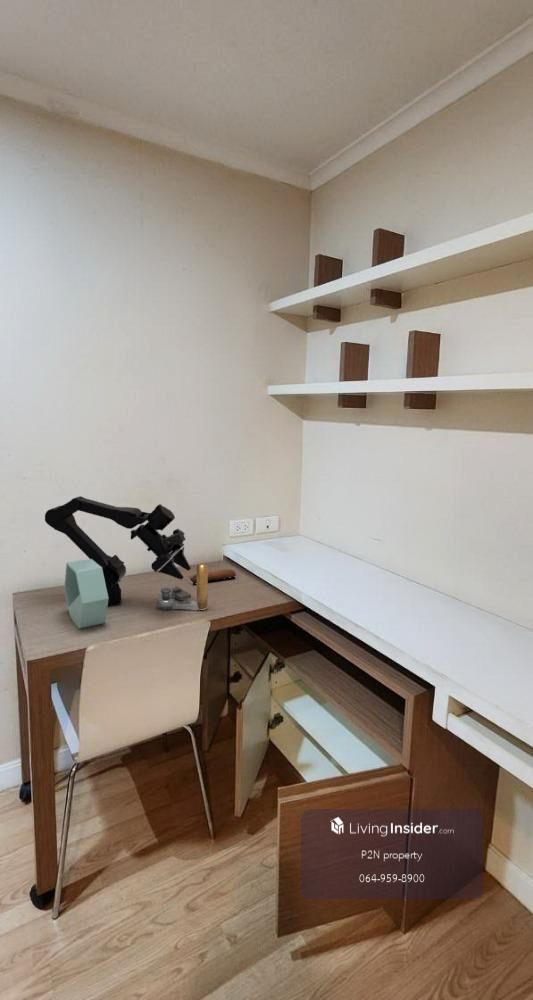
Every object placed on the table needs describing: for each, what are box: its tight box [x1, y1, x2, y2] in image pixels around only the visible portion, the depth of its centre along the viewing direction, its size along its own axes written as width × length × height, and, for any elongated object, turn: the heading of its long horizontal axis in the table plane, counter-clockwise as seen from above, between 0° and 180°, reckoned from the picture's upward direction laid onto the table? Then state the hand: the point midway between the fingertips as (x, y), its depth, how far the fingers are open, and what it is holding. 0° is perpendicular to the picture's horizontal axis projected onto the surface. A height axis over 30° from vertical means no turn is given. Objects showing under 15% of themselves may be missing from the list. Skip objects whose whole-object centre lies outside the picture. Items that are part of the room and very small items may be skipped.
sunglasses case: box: [189, 568, 237, 585], centre depth 197 cm, size 18×7×7 cm
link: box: [156, 562, 209, 611], centre depth 167 cm, size 17×6×15 cm, turn 88°
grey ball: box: [160, 587, 172, 600], centre depth 168 cm, size 3×3×3 cm
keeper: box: [171, 586, 192, 601], centre depth 173 cm, size 4×8×4 cm, turn 38°
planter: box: [63, 558, 109, 629], centre depth 156 cm, size 17×8×21 cm
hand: (186, 573), depth 167 cm, fingers open, 9 cm apart
